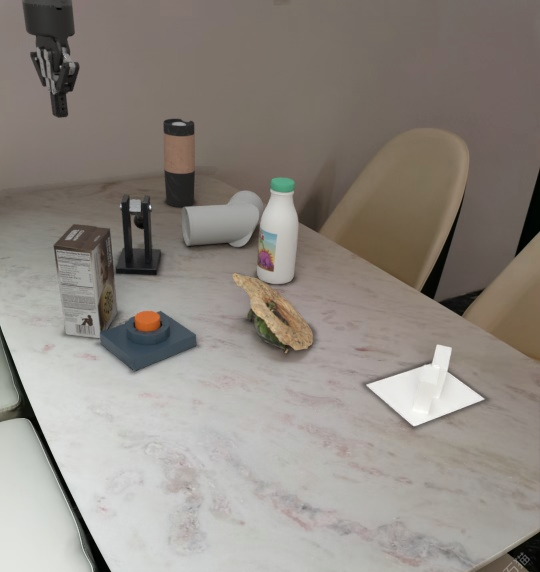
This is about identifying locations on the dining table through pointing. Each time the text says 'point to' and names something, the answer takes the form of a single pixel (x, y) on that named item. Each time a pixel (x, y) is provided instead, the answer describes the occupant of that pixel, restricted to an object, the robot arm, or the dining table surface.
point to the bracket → (135, 257)
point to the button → (147, 321)
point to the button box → (147, 342)
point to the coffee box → (86, 280)
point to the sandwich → (274, 315)
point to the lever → (137, 212)
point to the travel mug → (179, 162)
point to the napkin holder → (426, 390)
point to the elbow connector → (223, 221)
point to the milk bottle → (278, 234)
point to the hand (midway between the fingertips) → (60, 116)
